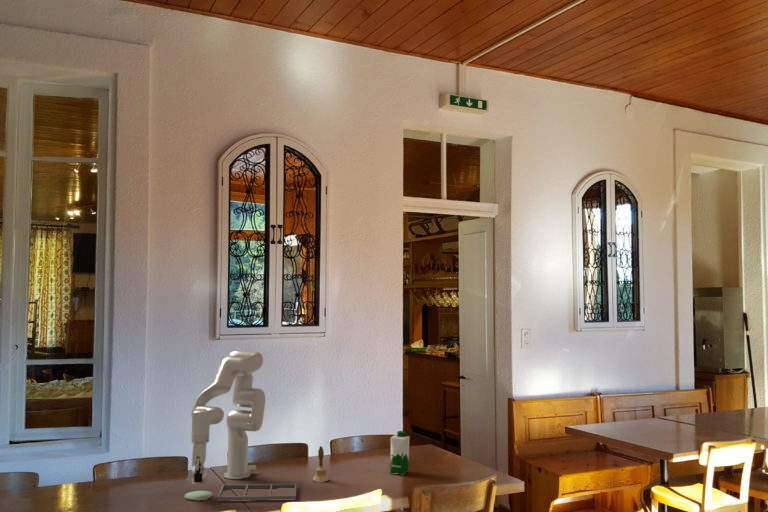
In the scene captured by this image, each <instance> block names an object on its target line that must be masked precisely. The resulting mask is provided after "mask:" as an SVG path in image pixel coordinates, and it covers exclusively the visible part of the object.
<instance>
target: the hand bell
mask: <svg viewBox="0 0 768 512" xmlns="http://www.w3.org/2000/svg"><path fill="white" fill-rule="evenodd" d="M317 454H318V455H317V456H318V460H319V462H318V468H316V470H315V475H314V476H313V478H312V479H313V480H315V481H325V480H329V479H330V478H329V477H328V474H327V471H326V470H327V469H326V468H325V467H324V465H323V460H324V459H323V458H324V449H323V446H319V448H318V453H317ZM329 481H330V480H329Z"/></svg>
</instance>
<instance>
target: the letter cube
mask: <svg viewBox="0 0 768 512" xmlns="http://www.w3.org/2000/svg"><path fill="white" fill-rule="evenodd" d="M207 470H208V468H207V467H204V468H202V472H201V473H202V482H197V483H195V482H194V473H195V467H194V468H192V470H191V485H205V483H206V481H207V477H208V476H207V474H208V473H207Z"/></svg>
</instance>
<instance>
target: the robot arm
mask: <svg viewBox="0 0 768 512" xmlns="http://www.w3.org/2000/svg"><path fill="white" fill-rule="evenodd" d="M263 363H264V357H263V354H261V352H259V351H247V350H235V351H234V350H233V351H231V352H230V353H229V354H228V356H227V357H224V358H223V359H222V360H221V362H220V365H219V367H218V369H217V372H216V375H215V377H214V380H213V382H212V384H210V386H207V388H206V389H204V390H203V391H202V392H201V393H200V394H199V395H198V397H196V399H195V402H194V404H193V407H192V409H191V410H192V411H191V443H192V455H191V457H192V458H191V467H194V468H195V473H194V482H195V483H197V482H202V473H201V472H202V468H205V463H206V460H207V444H208V443H209V442H210V426H212V425H218V424H220V423H221V422H222V421H223V420H224V417H225V412H224V410H223V409H222V408H220V407H217V406H209V405H207V404H208V403H209V402H210V401H211V400H213V399H215V398H217V397H220V396H223V395H224V394H227V393H229V392H230V391H231V389H232V386H233V383H234V386H233V392H232V393H233V394H232V404H233V405H234V406H235V407H238V408H246V409H234V410H231V411H229V412H228V413H227V416H226V426H227V427H226V428H227V438H228V439H227V465H226V466H227V468H226V472H224V473H223V477H224V478H226V479H228V480H244V479H247V478H249V477H250V476H251V472H250V471H252V470H253V471H254V470H257V465H251V464H250V465H248V458H249V457H248V456H249V455H248V454H249V438H248V435H247V432H258V431H260V430H261V428H262V426H263V422H264V413H265V406H266V393H265V391H264V390H263V389H261V388H257V387H253V380H254V379H253V378H254V377H253V374H254V373H256V371H259V369H261V367H262V366H263ZM247 409H251V410H247ZM243 478H244V479H243Z"/></svg>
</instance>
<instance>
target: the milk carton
mask: <svg viewBox="0 0 768 512" xmlns="http://www.w3.org/2000/svg"><path fill="white" fill-rule="evenodd" d="M396 433H397V434H395V435H392V436H391V437H390V439H389V441H390V460H389V461H390V466H389V467H390V468H389V469H390V470H389V471H390V472H389V473H398V474H404V473H406V472H407V471H408V472H409V468H410V466H409V465H410V463H409V462H410V439H411V438H410V435H406V431H404V430H399V431H397V432H396ZM406 474H407V473H406Z"/></svg>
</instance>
